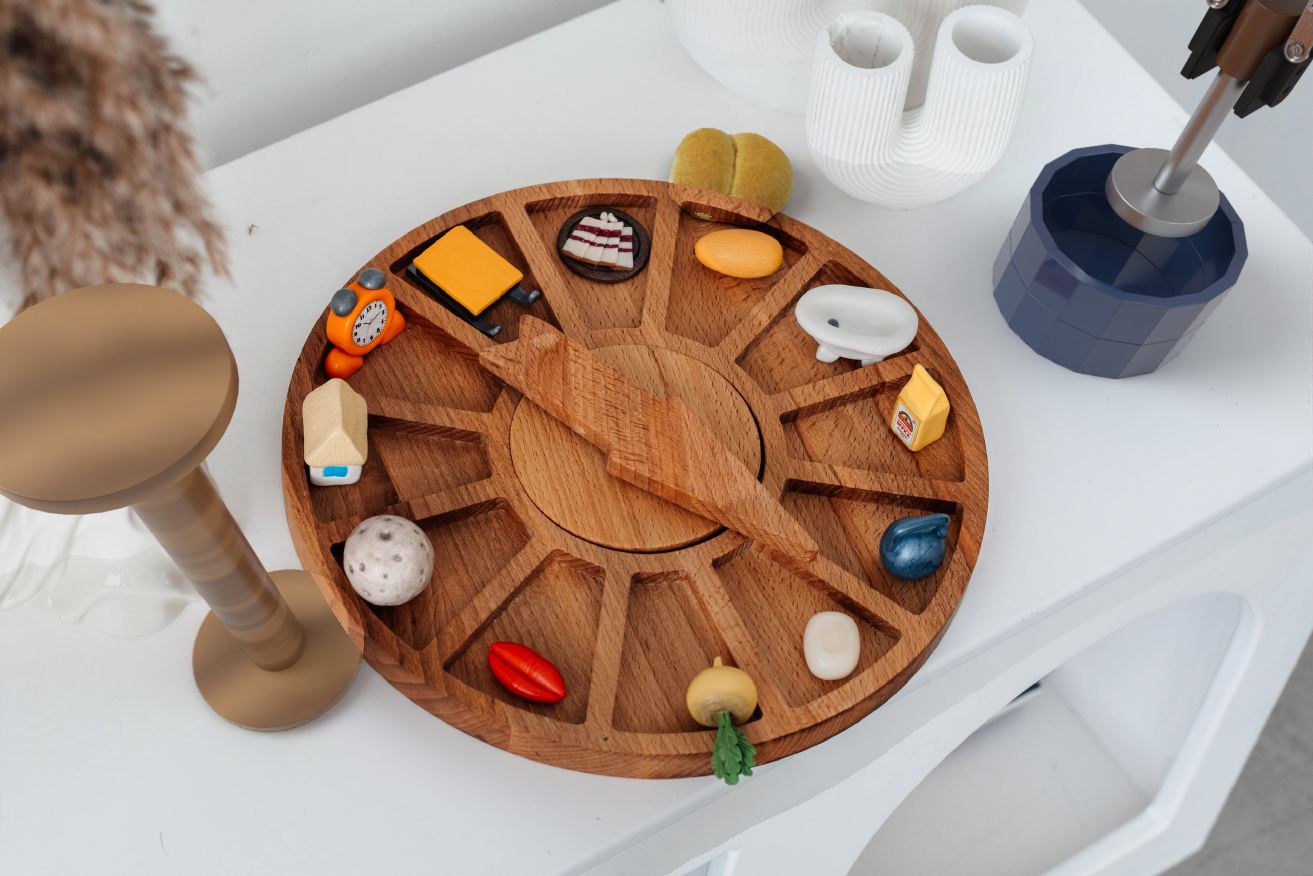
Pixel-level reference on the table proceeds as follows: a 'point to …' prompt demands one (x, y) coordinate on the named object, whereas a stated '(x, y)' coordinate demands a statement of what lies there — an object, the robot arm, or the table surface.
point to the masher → (1198, 133)
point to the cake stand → (165, 483)
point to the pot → (1108, 273)
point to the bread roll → (734, 167)
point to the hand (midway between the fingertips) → (1228, 84)
